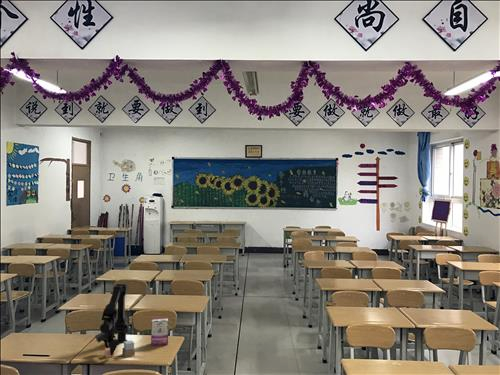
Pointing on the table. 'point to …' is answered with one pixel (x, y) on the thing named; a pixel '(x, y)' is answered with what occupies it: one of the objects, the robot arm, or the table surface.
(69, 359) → the table surface
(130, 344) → the slate block
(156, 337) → the candy bar box
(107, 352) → the terracotta cube
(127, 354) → the walnut base block
